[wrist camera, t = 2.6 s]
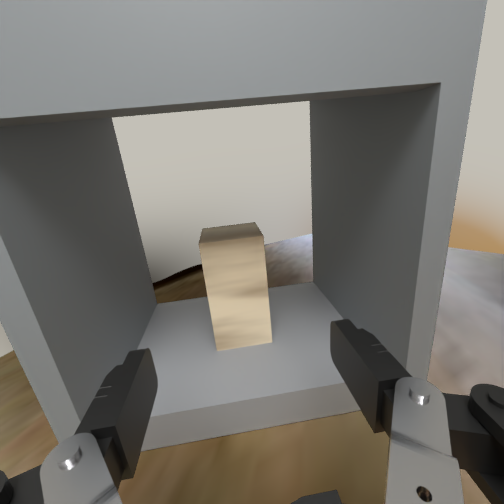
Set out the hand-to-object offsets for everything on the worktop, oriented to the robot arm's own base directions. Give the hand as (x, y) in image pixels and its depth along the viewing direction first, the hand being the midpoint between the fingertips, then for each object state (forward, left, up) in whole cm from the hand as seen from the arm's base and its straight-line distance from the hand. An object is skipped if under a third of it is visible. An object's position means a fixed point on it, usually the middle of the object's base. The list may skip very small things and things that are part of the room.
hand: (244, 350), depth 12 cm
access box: (-10, -7, -11) cm, 16 cm away
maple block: (-10, -7, -8) cm, 14 cm away
